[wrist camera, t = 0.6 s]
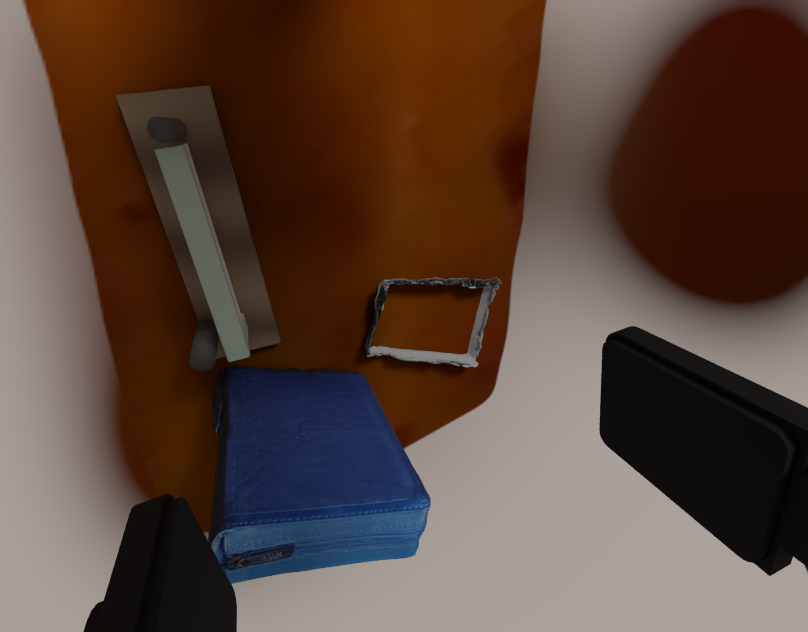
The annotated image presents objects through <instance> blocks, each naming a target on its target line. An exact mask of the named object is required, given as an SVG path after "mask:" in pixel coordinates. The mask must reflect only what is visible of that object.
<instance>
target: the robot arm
mask: <svg viewBox="0 0 808 632" xmlns="http://www.w3.org/2000/svg"><path fill="white" fill-rule="evenodd" d="M600 435H601V438H602V440H603V441H604V443H605V444H606V445H607V446H608V447H609V448H610V449H611V450H612V451H614V452H615V453H616V454H617V455H618V456H620V457H621V458H622V459H623V460H624V461H626V462H627V463H628V464H629V465H631V467H633V468H634V469H635V470H636V471H637V472H639V473H640V474H641V475H642V476H644V477H645V478H646V479H647V480H648V481H650V482H651V483H652V484H653V485H654V486H655V487H657V488H658V489H659V490H660V491H661V492H663V493H664V494H665V495H666V496H667V497H668V498H670V499H671V500H672V501H673V502H674V503H676V504H677V505H678V506H679V507H680V508H682V509H683V510H684V511H685V512H686V513H688V514H689V515H690V516H691V517H693V518H694V519H695V520H696V521H697V522H698V523H699V524H701V525H702V526H703V527H704V528H705V529H707V530H708V531H709V532H710V533H712V534H713V535H714V536H715V537H716V538H718V539H719V540H720V541H721V542H722V543H723V544H725V545H726V546H727V547H728V548H729V549H731V550H732V551H733V552H734V553H735V554H737V555H738V556H739V557H740V558H742V559H743V560H745V561H748V562H752V563H755V564H756V565H757V566H758V567H759V568H761V569H762V570H763V571H764V572H765V573H767V574H768V575H769V576H771V575H772V574H774V573H776V572H778V571H779V570H781V569H783V568H784V567H786V566H788V565H790V564H791V561H792V558H793V556H794V557H795V558H796V559H798V560H799V561H800V562H802V563H803V564H804V565H805V567H806V570H807V572H808V408H807V407H805V406H803V405H801V404H799V403H797V402H794V401H792V400H790V399H788V398H786V397H784V396H782V395H780V394H778V393H775V392H773V391H771V390H769V389H767V388H765V387H763V386H761V385H759V384H756V383H754V382H752V381H750V380H748V379H746V378H744V377H742V376H740V375H737V374H735V373H733V372H731V371H729V370H727V369H725V368H723V367H721V366H718V365H716V364H714V363H712V362H710V361H708V360H706V359H704V358H702V357H699V356H697V355H695V354H693V353H691V352H689V351H687V350H685V349H682V348H680V347H678V346H676V345H674V344H672V343H670V342H668V341H666V340H664V339H661V338H659V337H657V336H655V335H653V334H651V333H649V332H647V331H644V330H642V329H640V328H638V327H635V326H632V327H628V328H625V329H622V330H619V331H616V332H614V333H611V334H610V335H608V337H607V338H606V342H605V343H604V345H603V348H602V374H601V403H600ZM236 624H237V606H236V597H235V593H234V589H233V587H232V585H231V583H230V581H229V579H228V577H227V575H226V574H225V572H224V570H223V568H222V566H221V564H220V562H219V561H218V559H217V557H216V555H215V553H214V551H213V549H212V548H211V546H210V544H209V542H208V540H207V539H206V536H205V535H204V533H203V531H202V529H201V527H200V525H199V523H198V522H197V520H196V518H195V516H194V514H193V512H192V511H191V509H190V507H189V505H188V503H187V501H186V500H185V499H184V498H183V497H180V498H178V499H174V498H173V496H172V495H170V494H165V495H162V496H160V497H157V498H154V499H151V500H148V501H146V502H143V503H140V504H137V505H135V506H134V507H133V508H132V509H131V512H130V514H129V518H128V522H127V524H126V528H125V531H124V535H123V538H122V541H121V545H120V548H119V552H118V555H117V559H116V561H115V565H114V568H113V572H112V575H111V578H110V582H109V585H108V588H107V592H106V595H105V598H104V601H102V602H99V603H97V605H96V606H95V607H94V608H93V609H92V611H91V613H90V615H89V618H88V620H87V623H86V626H85V629H84V632H236V630H237V627H236V626H237V625H236Z"/></svg>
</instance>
